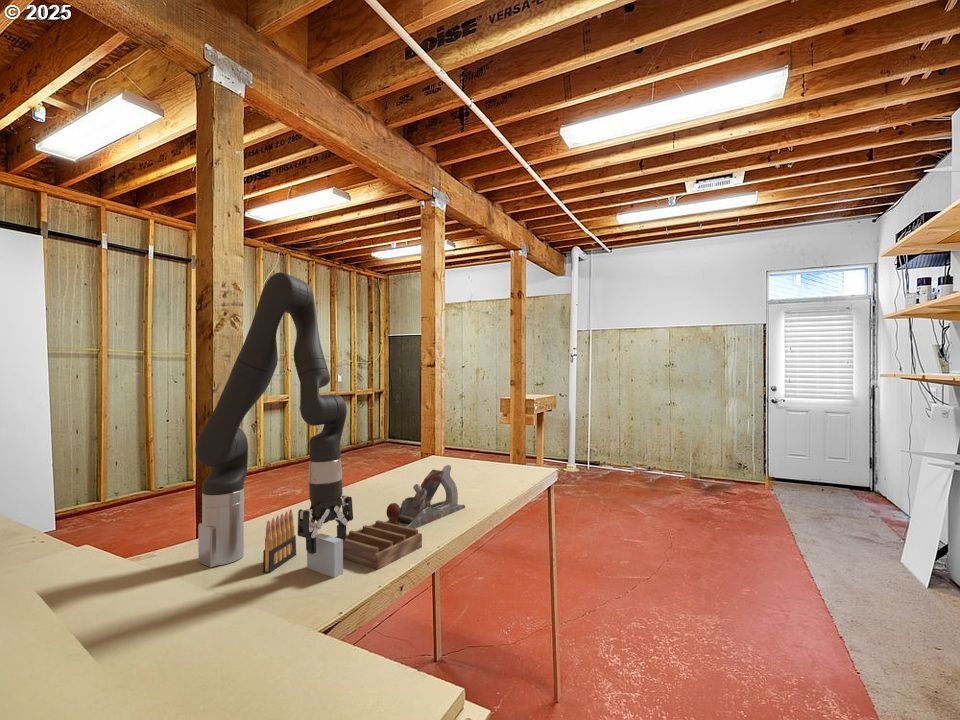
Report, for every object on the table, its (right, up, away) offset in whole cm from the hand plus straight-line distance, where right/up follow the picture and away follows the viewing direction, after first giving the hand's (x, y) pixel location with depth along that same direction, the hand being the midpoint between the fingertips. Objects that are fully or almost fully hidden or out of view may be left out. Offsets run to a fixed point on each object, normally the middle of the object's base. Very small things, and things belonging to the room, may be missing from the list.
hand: (327, 546), depth 108 cm
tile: (0, -6, 0) cm, 6 cm away
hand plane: (+18, -7, +37) cm, 42 cm away
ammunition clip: (-13, -6, +4) cm, 15 cm away
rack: (+9, -6, +11) cm, 15 cm away
